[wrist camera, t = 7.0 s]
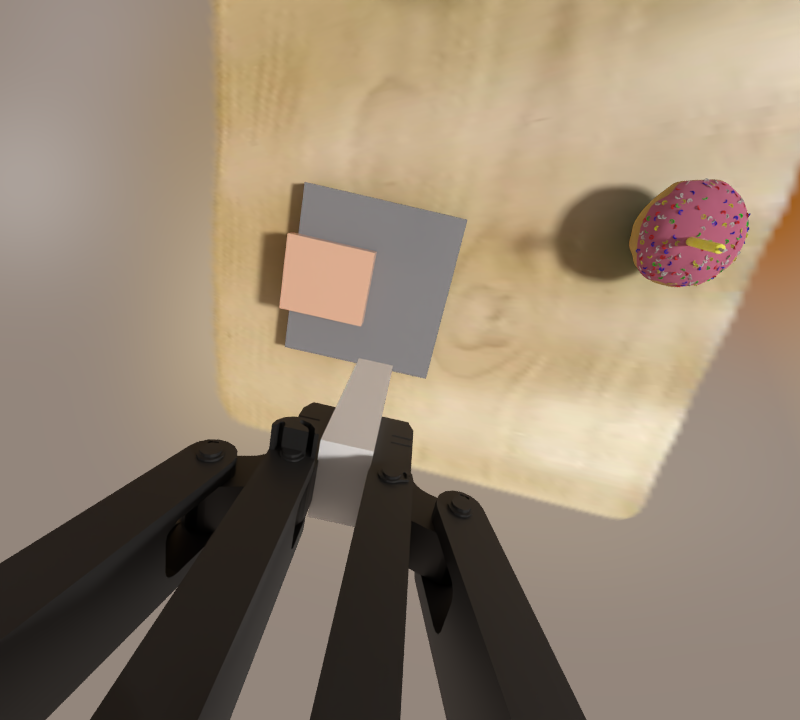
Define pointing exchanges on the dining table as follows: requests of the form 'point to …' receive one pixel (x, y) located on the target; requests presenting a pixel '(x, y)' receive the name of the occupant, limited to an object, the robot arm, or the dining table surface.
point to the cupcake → (689, 233)
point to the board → (382, 278)
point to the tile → (326, 278)
